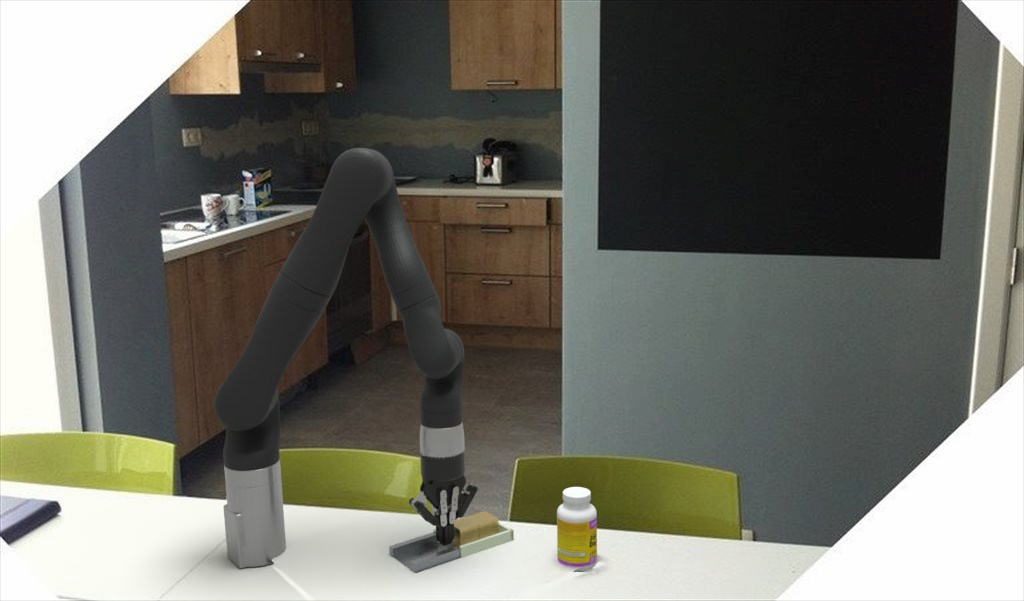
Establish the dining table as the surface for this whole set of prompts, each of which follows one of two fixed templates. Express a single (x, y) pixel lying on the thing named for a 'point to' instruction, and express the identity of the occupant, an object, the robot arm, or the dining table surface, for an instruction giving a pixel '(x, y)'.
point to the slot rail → (423, 553)
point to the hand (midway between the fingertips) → (445, 543)
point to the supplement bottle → (577, 530)
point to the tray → (487, 541)
